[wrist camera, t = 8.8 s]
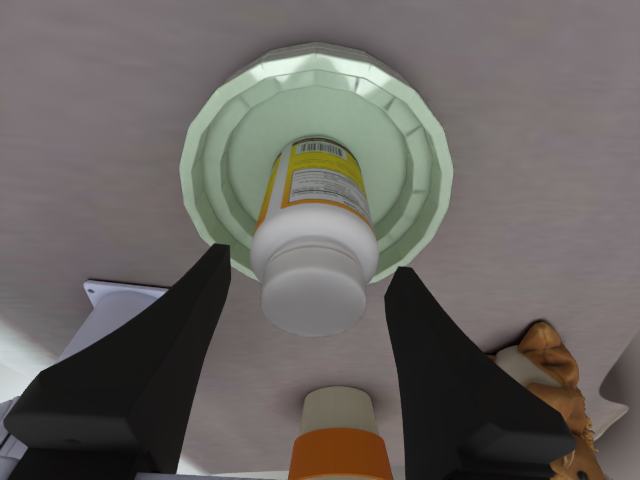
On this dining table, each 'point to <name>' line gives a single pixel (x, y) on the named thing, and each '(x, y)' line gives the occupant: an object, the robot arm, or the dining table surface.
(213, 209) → the bowl
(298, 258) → the supplement bottle
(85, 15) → the dining table surface
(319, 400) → the reusable coffee cup
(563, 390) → the stuffed squirrel
